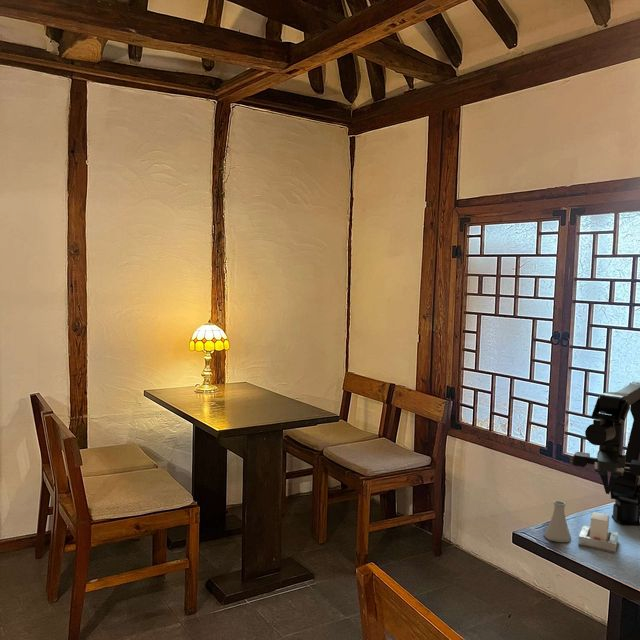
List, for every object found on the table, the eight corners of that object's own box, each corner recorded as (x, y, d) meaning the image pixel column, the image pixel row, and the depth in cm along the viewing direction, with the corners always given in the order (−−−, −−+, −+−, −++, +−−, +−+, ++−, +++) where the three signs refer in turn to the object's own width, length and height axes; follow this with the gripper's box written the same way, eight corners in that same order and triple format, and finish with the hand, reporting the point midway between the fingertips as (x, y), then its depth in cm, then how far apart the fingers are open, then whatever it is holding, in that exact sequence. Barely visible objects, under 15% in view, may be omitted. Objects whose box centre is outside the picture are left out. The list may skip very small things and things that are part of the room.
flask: (573, 544, 173) (576, 508, 172) (545, 541, 174) (547, 505, 174) (568, 534, 180) (571, 499, 179) (541, 531, 181) (543, 496, 181)
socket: (582, 534, 180) (583, 523, 180) (618, 541, 176) (618, 530, 176) (578, 545, 173) (578, 534, 172) (614, 553, 168) (615, 542, 168)
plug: (591, 536, 178) (593, 511, 177) (607, 539, 176) (609, 514, 175) (589, 543, 173) (590, 518, 172) (605, 546, 171) (607, 521, 170)
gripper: (570, 440, 176) (567, 495, 177) (647, 451, 167) (643, 509, 168) (576, 431, 186) (573, 484, 187) (649, 441, 177) (645, 496, 178)
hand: (607, 493), depth 180 cm, fingers closed
